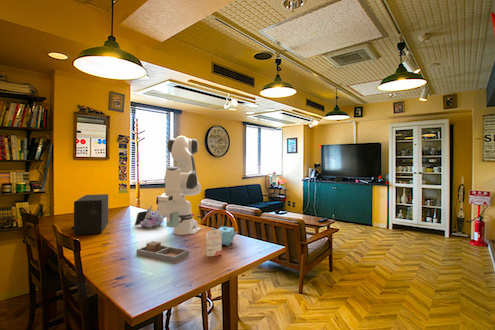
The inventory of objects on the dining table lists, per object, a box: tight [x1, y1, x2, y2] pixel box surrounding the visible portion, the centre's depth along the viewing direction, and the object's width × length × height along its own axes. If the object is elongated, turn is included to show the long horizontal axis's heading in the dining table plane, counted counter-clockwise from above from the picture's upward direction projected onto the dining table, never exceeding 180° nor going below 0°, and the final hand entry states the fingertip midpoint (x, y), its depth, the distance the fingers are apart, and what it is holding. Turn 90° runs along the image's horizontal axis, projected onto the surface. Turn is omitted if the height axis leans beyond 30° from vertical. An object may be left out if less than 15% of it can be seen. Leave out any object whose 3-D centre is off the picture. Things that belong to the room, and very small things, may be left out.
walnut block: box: [145, 240, 162, 253], centre depth 146 cm, size 5×6×6 cm
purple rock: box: [134, 205, 166, 229], centre depth 208 cm, size 20×22×18 cm
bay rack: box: [136, 244, 190, 265], centre depth 144 cm, size 12×27×4 cm, turn 67°
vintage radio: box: [70, 193, 109, 236], centre depth 198 cm, size 38×20×25 cm, turn 22°
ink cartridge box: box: [205, 229, 223, 257], centre depth 147 cm, size 9×5×15 cm, turn 105°
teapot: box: [211, 226, 238, 247], centre depth 167 cm, size 16×18×11 cm
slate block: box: [166, 212, 179, 229], centre depth 141 cm, size 4×4×8 cm
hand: (172, 220), depth 141 cm, fingers closed on slate block, 4 cm apart
